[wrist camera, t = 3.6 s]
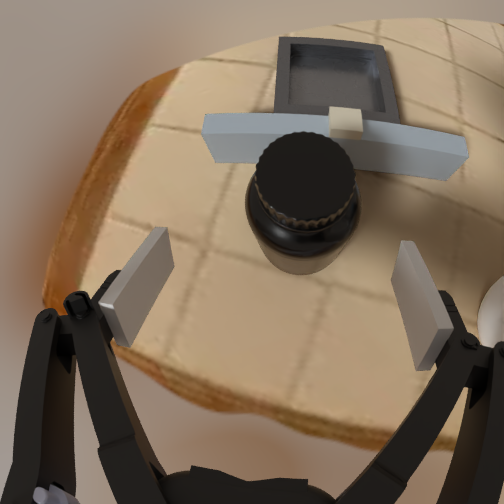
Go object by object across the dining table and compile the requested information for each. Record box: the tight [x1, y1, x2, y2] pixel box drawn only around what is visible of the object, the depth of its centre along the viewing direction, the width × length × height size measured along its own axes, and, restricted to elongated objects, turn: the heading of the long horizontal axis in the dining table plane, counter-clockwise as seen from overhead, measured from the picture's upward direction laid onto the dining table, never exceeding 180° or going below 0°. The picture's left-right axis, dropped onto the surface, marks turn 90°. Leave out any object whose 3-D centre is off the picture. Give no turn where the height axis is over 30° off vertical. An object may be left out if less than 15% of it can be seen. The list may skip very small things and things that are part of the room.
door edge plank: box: [201, 106, 469, 181], centre depth 24 cm, size 22×2×6 cm, turn 85°
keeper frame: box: [274, 37, 400, 124], centre depth 27 cm, size 12×12×2 cm
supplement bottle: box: [245, 131, 361, 275], centre depth 20 cm, size 7×7×12 cm
